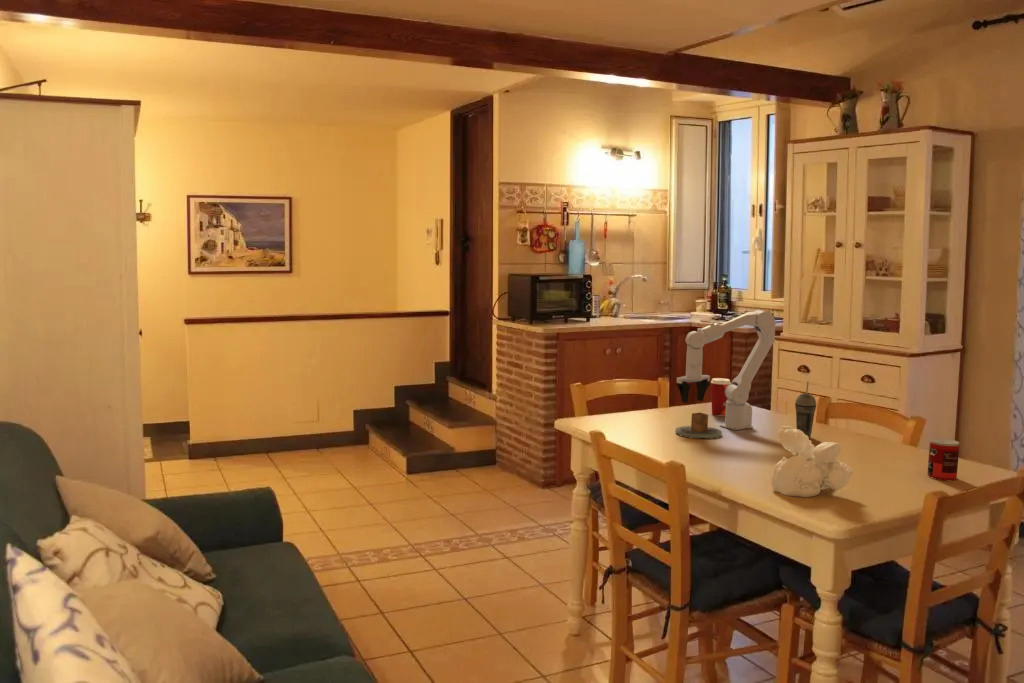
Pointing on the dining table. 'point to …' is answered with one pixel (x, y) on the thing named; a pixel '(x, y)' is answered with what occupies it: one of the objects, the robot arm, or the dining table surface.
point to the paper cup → (719, 395)
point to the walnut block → (699, 422)
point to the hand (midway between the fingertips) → (692, 401)
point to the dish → (689, 433)
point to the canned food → (943, 458)
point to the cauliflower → (808, 466)
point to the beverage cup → (805, 412)
